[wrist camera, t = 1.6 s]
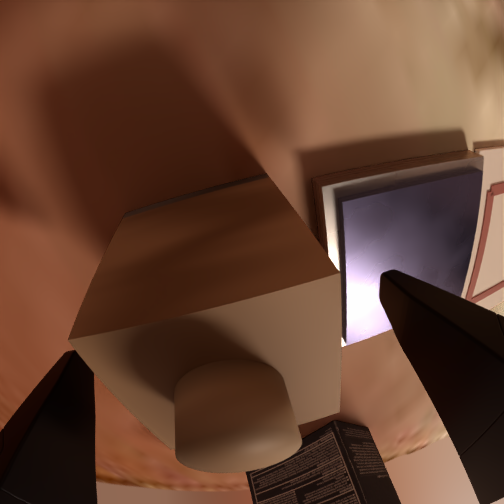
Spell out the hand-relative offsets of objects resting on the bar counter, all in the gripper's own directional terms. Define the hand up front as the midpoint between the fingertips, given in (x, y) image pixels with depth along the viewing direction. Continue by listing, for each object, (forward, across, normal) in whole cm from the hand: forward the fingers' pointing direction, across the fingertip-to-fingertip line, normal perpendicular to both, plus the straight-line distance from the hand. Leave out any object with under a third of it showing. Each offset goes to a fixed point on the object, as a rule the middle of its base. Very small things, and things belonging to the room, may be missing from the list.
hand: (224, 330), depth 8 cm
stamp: (+4, 0, 0) cm, 4 cm away
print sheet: (+4, -17, +4) cm, 18 cm away
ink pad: (+4, -8, +2) cm, 9 cm away
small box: (+4, -2, +22) cm, 22 cm away
